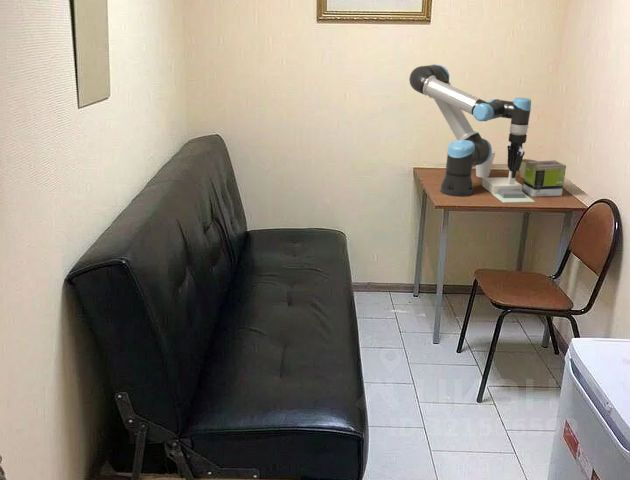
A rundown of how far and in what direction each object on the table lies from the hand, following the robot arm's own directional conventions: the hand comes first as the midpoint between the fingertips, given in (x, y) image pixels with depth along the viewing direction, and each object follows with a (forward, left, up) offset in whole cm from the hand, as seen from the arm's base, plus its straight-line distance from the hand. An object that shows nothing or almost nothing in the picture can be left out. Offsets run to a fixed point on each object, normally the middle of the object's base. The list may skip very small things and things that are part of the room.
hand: (511, 184), depth 292 cm
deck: (0, +9, -6) cm, 11 cm away
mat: (0, -4, -6) cm, 7 cm away
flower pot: (+22, +29, -6) cm, 37 cm away
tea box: (+17, +2, -6) cm, 18 cm away
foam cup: (0, +33, -6) cm, 34 cm away
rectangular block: (0, -2, -5) cm, 5 cm away
